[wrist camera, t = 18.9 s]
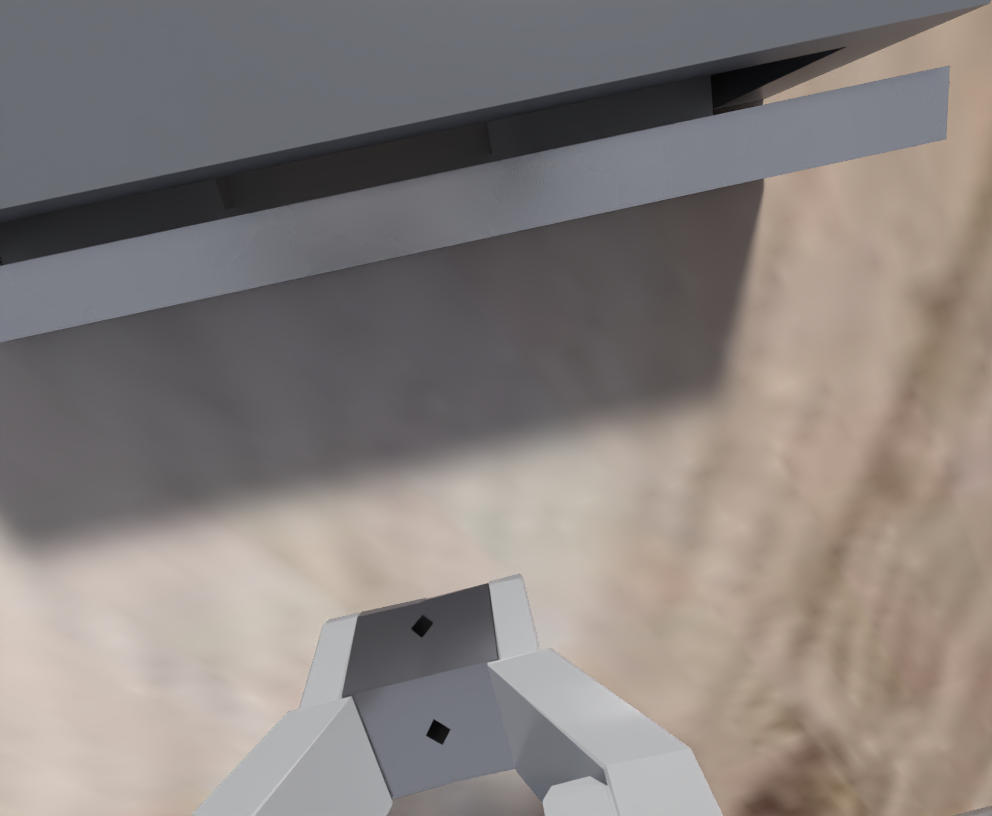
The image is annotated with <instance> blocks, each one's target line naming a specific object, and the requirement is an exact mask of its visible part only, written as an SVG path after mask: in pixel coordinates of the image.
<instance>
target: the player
mask: <svg viewBox="0 0 992 816" xmlns="http://www.w3.org/2000/svg"><path fill="white" fill-rule="evenodd" d="M990 2H991V0H0V223H4V222H9V221H14V220H19V219H24V218H28V217H33V216H38V215H43V214H47V213H52V212H57V211H62V210H67V209H71V208H76V207H81V206H86V205H91V204H95V203H100V202H105V201H110V200H114V199H119V198H124V197H129V196H134V195H138V194H143V193H148V192H153V191H158V190H162V189H167V188H172V187H177V186H181V185H186V184H191V183H196V182H201V181H205V180H210V179H215V178H220V177H225V176H229V175H234V174H239V173H244V172H248V171H253V170H258V169H263V168H268V167H272V166H277V165H282V164H287V163H292V162H296V161H301V160H306V159H311V158H315V157H320V156H325V155H330V154H335V153H339V152H344V151H349V150H354V149H359V148H363V147H368V146H373V145H378V144H382V143H387V142H392V141H397V140H402V139H406V138H411V137H416V136H421V135H426V134H430V133H435V132H440V131H445V130H449V129H454V128H459V127H464V126H469V125H473V124H478V123H483V122H488V121H493V120H497V119H502V118H507V117H512V116H516V115H521V114H526V113H531V112H536V111H540V110H545V109H550V108H555V107H560V106H564V105H569V104H574V103H579V102H583V101H588V100H593V99H598V98H603V97H607V96H612V95H617V94H622V93H627V92H631V91H636V90H641V89H646V88H650V87H655V86H660V85H665V84H670V83H674V82H679V81H684V80H689V79H694V78H698V77H703V76H708V75H710V76H711V90H712V104H713V110H714V109H719V108H724V107H729V106H733V105H738V104H743V103H748V102H752V101H757V100H762V99H766V98H768V97H770V96H773V95H775V94H777V93H780V92H782V91H784V90H787V89H789V88H791V87H794V86H796V85H799V84H801V83H803V82H806V81H808V80H810V79H813V78H815V77H817V76H820V75H822V74H824V73H827V72H829V71H831V70H834V69H836V68H838V67H841V66H843V65H846V64H848V63H850V62H853V61H855V60H857V59H860V58H862V57H864V56H867V55H869V54H871V53H874V52H876V51H878V50H881V49H883V48H886V47H888V46H890V45H893V44H895V43H897V42H900V41H902V40H904V39H907V38H909V37H911V36H914V35H916V34H918V33H921V32H923V31H926V30H928V29H930V28H933V27H935V26H937V25H940V24H942V23H944V22H947V21H949V20H951V19H954V18H956V17H958V16H961V15H963V14H965V13H968V12H970V11H973V10H975V9H977V8H980V7H982V6H984V5H987V4H989V3H990ZM0 260H1V258H0Z"/></svg>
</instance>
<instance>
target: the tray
mask: <svg viewBox="0 0 992 816" xmlns="http://www.w3.org/2000/svg"><path fill="white" fill-rule="evenodd" d="M949 71H950V66H945V67H940V68H936V69H931V70H926V71H921V72H917V73H912V74H907V75H902V76H898V77H893V78H888V79H883V80H879V81H874V82H869V83H864V84H860V85H855V86H850V87H846V88H841V89H836V90H831V91H827V92H822V93H817V94H812V95H808V96H803V97H798V98H793V99H789V100H784V101H779V102H774V103H770V104H765V105H760V106H756V107H751V108H746V109H741V110H737V111H732V112H727V113H722V114H718V115H713V104H712V90H711V76H710V75H708V76H703V77H698V78H694V79H689V80H684V81H679V82H674V83H670V84H665V85H660V86H655V87H650V88H646V89H641V90H636V91H631V92H627V93H622V94H617V95H612V96H607V97H603V98H598V99H593V100H588V101H583V102H579V103H574V104H569V105H564V106H560V107H555V108H550V109H545V110H540V111H536V112H531V113H526V114H521V115H516V116H512V117H507V118H502V119H497V120H493V121H488V122H483V123H478V124H473V125H469V126H464V127H459V128H454V129H449V130H445V131H440V132H435V133H430V134H426V135H421V136H416V137H411V138H406V139H402V140H397V141H392V142H387V143H382V144H378V145H373V146H368V147H363V148H359V149H354V150H349V151H344V152H339V153H335V154H330V155H325V156H320V157H315V158H311V159H306V160H301V161H296V162H292V163H287V164H282V165H277V166H272V167H268V168H263V169H258V170H253V171H248V172H244V173H239V174H234V175H229V176H225V177H220V178H215V179H210V180H205V181H201V182H196V183H191V184H186V185H181V186H177V187H172V188H167V189H162V190H158V191H153V192H148V193H143V194H138V195H134V196H129V197H124V198H119V199H114V200H110V201H105V202H100V203H95V204H91V205H86V206H81V207H76V208H71V209H67V210H62V211H57V212H52V213H47V214H43V215H38V216H33V217H28V218H24V219H19V220H14V221H9V222H4V223H0V258H1V260H2V262H3V264H4V265H2V266H0V342H5V341H9V340H14V339H19V338H23V337H28V336H33V335H37V334H42V333H47V332H51V331H56V330H61V329H65V328H70V327H75V326H79V325H84V324H89V323H93V322H98V321H103V320H107V319H112V318H117V317H121V316H126V315H130V314H135V313H140V312H144V311H149V310H154V309H158V308H163V307H168V306H172V305H177V304H182V303H186V302H191V301H196V300H200V299H205V298H210V297H214V296H219V295H224V294H228V293H233V292H237V291H242V290H247V289H251V288H256V287H261V286H265V285H270V284H275V283H279V282H284V281H289V280H293V279H298V278H303V277H307V276H312V275H317V274H321V273H326V272H331V271H335V270H340V269H345V268H349V267H354V266H358V265H363V264H368V263H372V262H377V261H382V260H386V259H391V258H396V257H400V256H405V255H410V254H414V253H419V252H424V251H428V250H433V249H438V248H442V247H447V246H452V245H456V244H461V243H465V242H470V241H475V240H479V239H484V238H489V237H493V236H498V235H503V234H507V233H512V232H517V231H521V230H526V229H531V228H535V227H540V226H545V225H549V224H554V223H559V222H563V221H568V220H573V219H577V218H582V217H586V216H591V215H596V214H600V213H605V212H610V211H614V210H619V209H624V208H628V207H633V206H638V205H642V204H647V203H652V202H656V201H661V200H666V199H670V198H675V197H680V196H684V195H689V194H693V193H698V192H703V191H707V190H712V189H717V188H721V187H726V186H731V185H735V184H740V183H745V182H749V181H754V180H759V179H763V178H768V177H773V176H777V175H782V174H787V173H791V172H796V171H801V170H805V169H810V168H814V167H819V166H824V165H828V164H833V163H838V162H842V161H847V160H852V159H856V158H861V157H866V156H870V155H875V154H880V153H884V152H889V151H894V150H898V149H903V148H908V147H912V146H917V145H921V144H926V143H931V142H935V141H940V140H945V139H946V133H947V112H948V92H949Z"/></svg>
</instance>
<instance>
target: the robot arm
mask: <svg viewBox="0 0 992 816" xmlns="http://www.w3.org/2000/svg"><path fill="white" fill-rule="evenodd" d="M511 769H516V770H517V772H518V774H519V775H520V776H521V777H522V779H523V780H524V781H525V782H526V783H527V785H528V786H529V787H530V788H531V790H532V791H533V792H534V793H535V794H536V796H537V797H538V798H539V799H540V801H541V802H542V803H543V807H544V813H545V816H723V815H722V813H721V810H720V808H719V806H718V804H717V802H716V800H715V798H714V796H713V794H712V792H711V790H710V787H709V785H708V783H707V781H706V779H705V777H704V775H703V773H702V771H701V769H700V767H699V764H698V762H697V760H696V758H695V756H694V754H693V752H692V750H691V748H690V747H688V746H687V745H685V744H684V743H683V742H681V741H680V740H678V739H677V738H676V737H674V736H673V735H671V734H670V733H669V732H667V731H666V730H664V729H663V728H662V727H660V726H659V725H657V724H656V723H655V722H653V721H652V720H651V719H649V718H648V717H646V716H645V715H644V714H642V713H641V712H639V711H638V710H637V709H635V708H634V707H632V706H631V705H630V704H628V703H627V702H625V701H624V700H623V699H621V698H620V697H618V696H617V695H616V694H614V693H613V692H611V691H610V690H609V689H607V688H606V687H604V686H603V685H602V684H600V683H599V682H597V681H596V680H595V679H593V678H592V677H591V676H589V675H588V674H586V673H585V672H584V671H582V670H581V669H579V668H578V667H577V666H575V665H574V664H572V663H571V662H570V661H568V660H567V659H565V658H564V657H563V656H561V655H560V654H558V653H557V652H556V651H554V650H553V649H551V648H547V649H543V650H540V647H539V642H538V638H537V634H536V630H535V626H534V621H533V617H532V613H531V609H530V605H529V600H528V596H527V592H526V588H525V584H524V579H523V576H522V575H521V574H516V575H512V576H509V577H505V578H501V579H498V580H494V581H490V582H489V583H487V584H483V585H479V586H475V587H471V588H467V589H463V590H459V591H455V592H451V593H447V594H442V595H438V596H434V597H430V598H423V599H419V600H414V601H409V602H405V603H400V604H396V605H391V606H386V607H382V608H377V609H373V610H368V611H363V612H361V613H355V614H351V615H346V616H342V617H338V618H334V619H329V620H328V621H327V622H326V623H325V624H324V625H323V627H322V630H321V634H320V637H319V641H318V644H317V648H316V651H315V655H314V658H313V662H312V665H311V668H310V672H309V675H308V679H307V682H306V686H305V689H304V693H303V696H302V700H301V703H300V706H299V709H297V710H293V711H289V712H287V713H286V715H285V716H284V717H283V718H282V719H281V720H280V721H279V722H278V723H277V724H276V725H275V726H274V727H273V728H272V729H271V731H270V732H269V733H268V734H267V735H266V736H265V737H264V738H263V739H262V740H261V741H260V742H259V743H258V744H257V745H256V747H255V748H254V749H253V750H252V751H251V752H250V753H249V754H248V755H247V756H246V757H245V758H244V759H243V760H242V761H241V763H240V764H239V765H238V766H237V767H236V768H235V769H234V770H233V771H232V772H231V773H230V774H229V775H228V776H227V777H226V779H225V780H224V781H223V782H222V783H221V784H220V785H219V786H218V787H217V788H216V789H215V790H214V791H213V792H212V793H211V795H210V796H209V797H208V798H207V799H206V800H205V801H204V802H203V803H202V804H201V805H200V806H199V807H198V808H197V809H196V811H195V812H194V813H193V814H192V815H191V816H387V814H388V812H389V810H390V809H391V807H392V805H393V802H392V799H395V798H399V797H402V796H406V795H409V794H413V793H416V792H420V791H424V790H427V789H431V788H434V787H438V786H441V785H445V784H448V783H452V782H456V781H461V780H465V779H470V778H474V777H479V776H484V775H488V774H493V773H497V772H502V771H507V770H511ZM954 816H992V806H989V807H985V808H981V809H977V810H973V811H969V812H965V813H961V814H957V815H954Z"/></svg>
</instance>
